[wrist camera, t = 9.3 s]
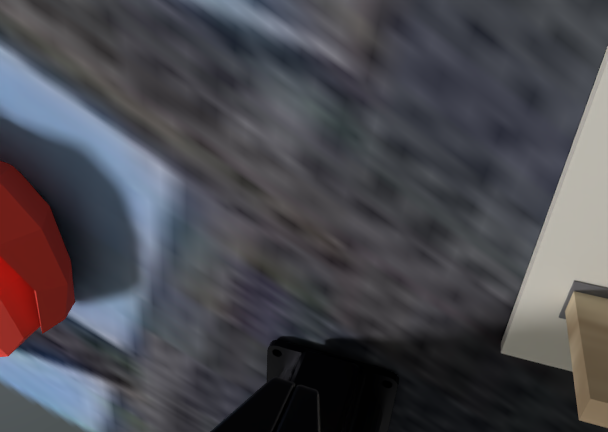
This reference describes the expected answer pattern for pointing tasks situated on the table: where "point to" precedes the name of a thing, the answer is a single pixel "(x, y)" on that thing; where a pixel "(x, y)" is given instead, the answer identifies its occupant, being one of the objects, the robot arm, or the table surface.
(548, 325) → the card
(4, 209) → the animal figurine
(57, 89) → the table surface
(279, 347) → the robot arm
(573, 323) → the fixed fence panel
